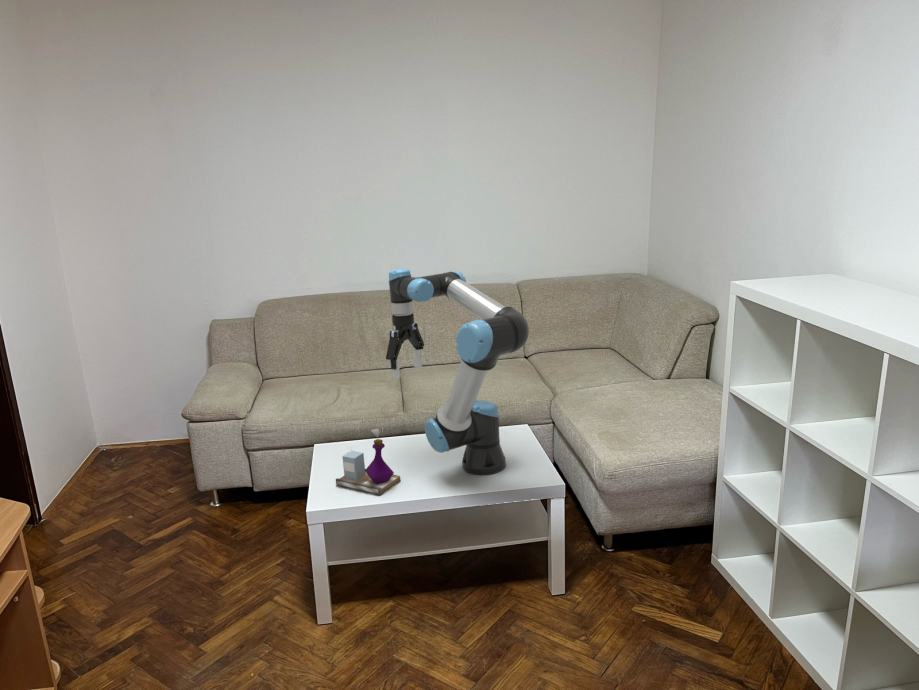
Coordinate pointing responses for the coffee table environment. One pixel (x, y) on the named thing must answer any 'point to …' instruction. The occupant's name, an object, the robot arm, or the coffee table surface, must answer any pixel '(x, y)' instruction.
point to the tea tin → (354, 465)
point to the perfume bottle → (378, 463)
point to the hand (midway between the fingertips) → (407, 372)
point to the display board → (368, 484)
